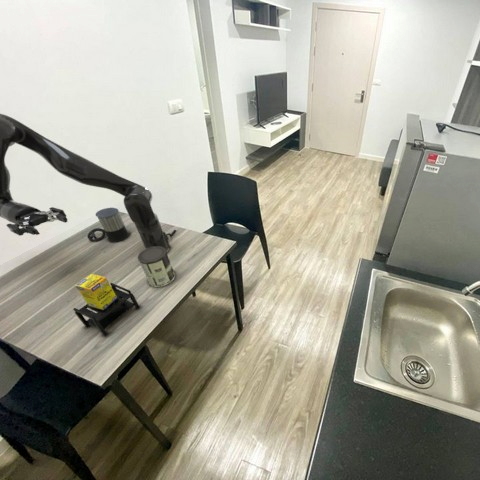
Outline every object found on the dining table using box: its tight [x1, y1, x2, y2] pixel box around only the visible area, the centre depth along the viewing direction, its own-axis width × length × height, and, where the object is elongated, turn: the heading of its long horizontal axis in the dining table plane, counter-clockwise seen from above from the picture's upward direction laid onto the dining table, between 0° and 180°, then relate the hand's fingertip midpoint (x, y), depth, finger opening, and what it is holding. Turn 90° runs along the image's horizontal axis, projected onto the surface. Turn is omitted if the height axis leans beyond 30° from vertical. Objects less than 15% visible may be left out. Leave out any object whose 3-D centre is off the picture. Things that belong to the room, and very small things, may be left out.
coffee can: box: [136, 246, 176, 288], centre depth 110 cm, size 10×10×14 cm
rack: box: [72, 282, 141, 337], centre depth 94 cm, size 14×10×10 cm
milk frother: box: [86, 207, 130, 243], centre depth 129 cm, size 14×16×15 cm
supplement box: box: [74, 273, 118, 311], centre depth 89 cm, size 6×6×11 cm
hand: (51, 225), depth 90 cm, fingers open, 8 cm apart
